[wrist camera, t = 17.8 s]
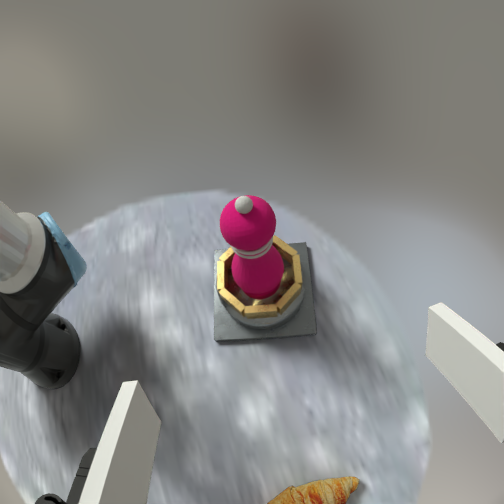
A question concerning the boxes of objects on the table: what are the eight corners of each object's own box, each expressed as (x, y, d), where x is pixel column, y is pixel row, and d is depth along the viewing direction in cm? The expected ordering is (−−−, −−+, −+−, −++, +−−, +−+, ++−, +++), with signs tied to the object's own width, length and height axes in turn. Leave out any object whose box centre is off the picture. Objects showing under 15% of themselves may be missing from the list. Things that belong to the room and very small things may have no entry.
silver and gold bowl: (215, 341, 49) (202, 329, 42) (216, 253, 56) (205, 229, 49) (316, 334, 48) (321, 321, 41) (305, 245, 55) (307, 220, 48)
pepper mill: (237, 259, 50) (208, 174, 32) (283, 257, 49) (278, 169, 31) (236, 303, 46) (202, 233, 29) (285, 301, 45) (282, 229, 28)
